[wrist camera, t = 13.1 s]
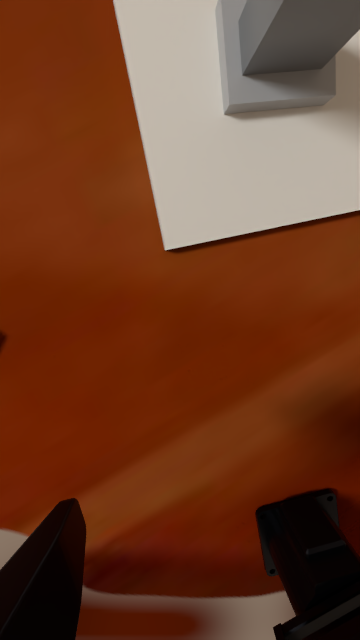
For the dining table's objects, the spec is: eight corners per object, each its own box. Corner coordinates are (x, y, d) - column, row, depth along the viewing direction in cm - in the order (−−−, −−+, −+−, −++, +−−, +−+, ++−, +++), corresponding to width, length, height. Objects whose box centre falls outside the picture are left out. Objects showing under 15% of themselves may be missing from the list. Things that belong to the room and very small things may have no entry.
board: (399, 201, 21) (409, 199, 20) (164, 250, 20) (165, 250, 19) (389, -56, 18) (401, -71, 17) (109, -15, 16) (108, -29, 16)
